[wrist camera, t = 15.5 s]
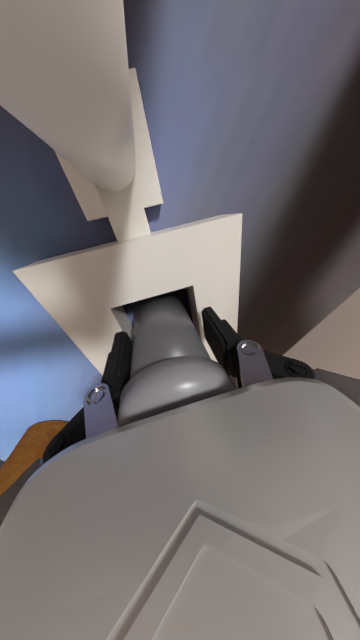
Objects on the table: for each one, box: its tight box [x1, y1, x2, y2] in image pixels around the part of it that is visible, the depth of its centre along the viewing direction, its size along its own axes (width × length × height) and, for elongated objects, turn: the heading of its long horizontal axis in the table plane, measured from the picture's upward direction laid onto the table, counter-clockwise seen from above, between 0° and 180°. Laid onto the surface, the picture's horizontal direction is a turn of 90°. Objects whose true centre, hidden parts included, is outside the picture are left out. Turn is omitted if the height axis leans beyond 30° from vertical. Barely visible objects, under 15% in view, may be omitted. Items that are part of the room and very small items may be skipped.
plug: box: [117, 292, 236, 428], centre depth 11 cm, size 6×6×10 cm
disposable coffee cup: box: [0, 421, 68, 496], centre depth 18 cm, size 10×10×12 cm
